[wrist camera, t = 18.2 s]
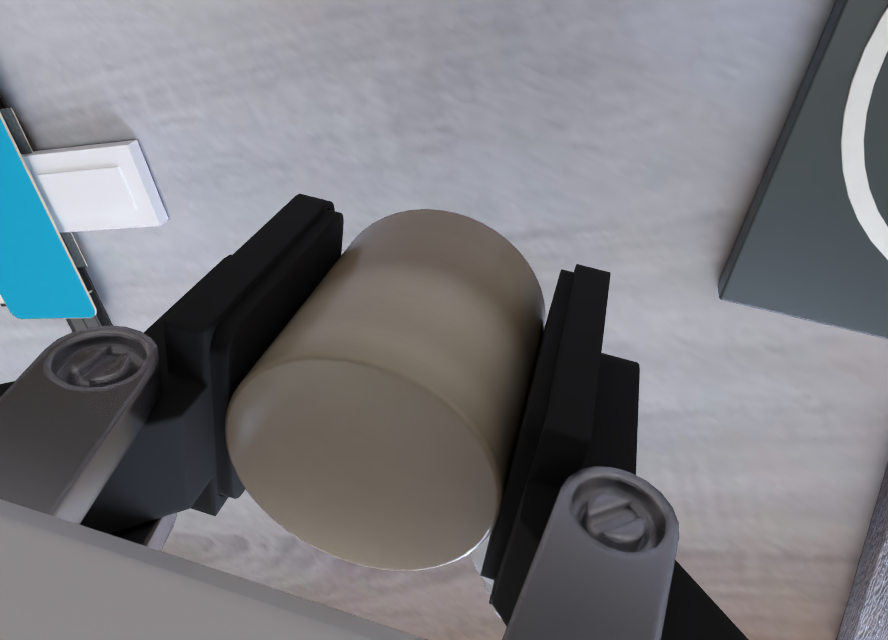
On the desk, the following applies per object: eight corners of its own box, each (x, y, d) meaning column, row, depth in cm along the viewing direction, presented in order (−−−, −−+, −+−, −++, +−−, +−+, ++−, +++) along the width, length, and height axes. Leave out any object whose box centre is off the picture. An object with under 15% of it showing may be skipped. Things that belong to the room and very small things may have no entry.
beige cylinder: (345, 183, 11) (216, 319, 8) (570, 239, 11) (531, 407, 7) (333, 360, 13) (227, 524, 10) (521, 413, 13) (473, 604, 9)
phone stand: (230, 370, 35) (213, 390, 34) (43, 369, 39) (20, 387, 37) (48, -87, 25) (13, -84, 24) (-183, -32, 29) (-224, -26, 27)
